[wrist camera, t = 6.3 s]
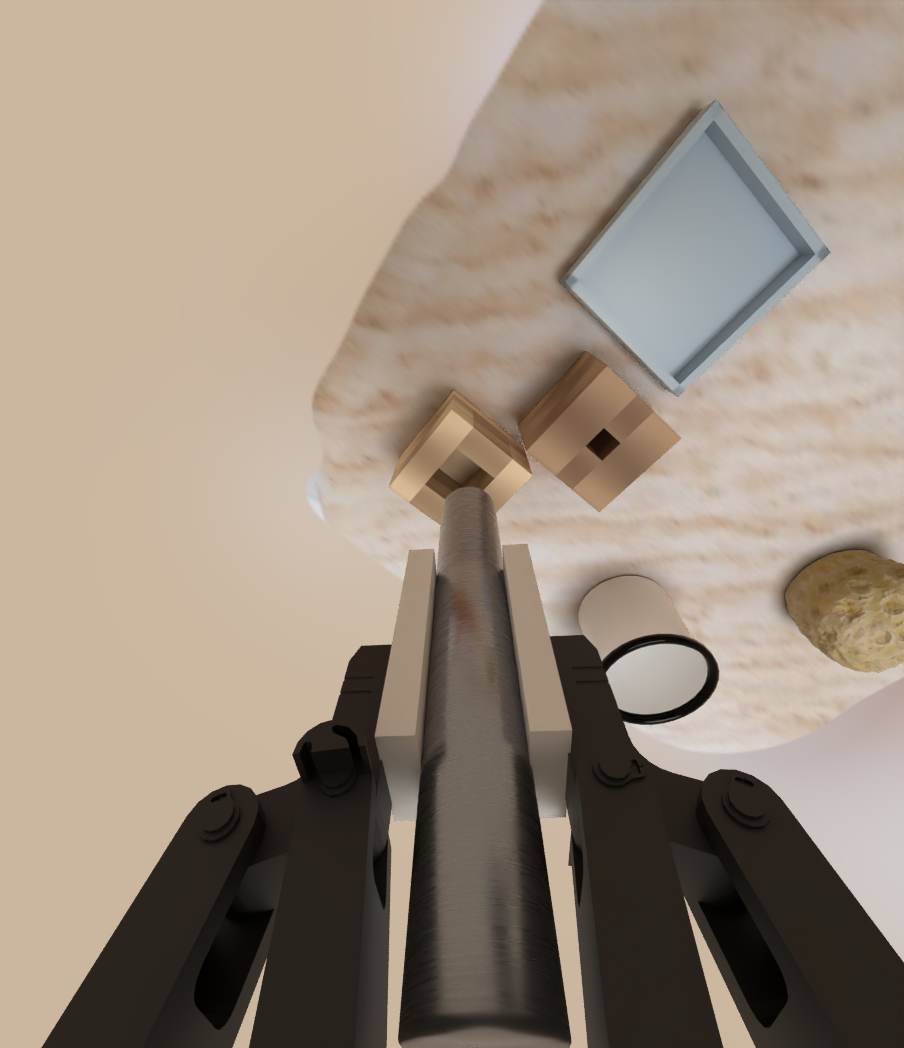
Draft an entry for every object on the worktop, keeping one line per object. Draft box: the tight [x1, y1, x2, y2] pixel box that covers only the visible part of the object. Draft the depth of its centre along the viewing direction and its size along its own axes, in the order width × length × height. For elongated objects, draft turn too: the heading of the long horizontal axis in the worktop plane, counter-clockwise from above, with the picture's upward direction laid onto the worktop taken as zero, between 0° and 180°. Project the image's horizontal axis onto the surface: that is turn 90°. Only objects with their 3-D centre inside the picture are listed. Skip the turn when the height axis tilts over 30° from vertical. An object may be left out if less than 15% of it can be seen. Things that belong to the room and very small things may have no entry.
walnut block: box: [518, 351, 681, 512], centre depth 33 cm, size 7×7×6 cm
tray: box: [559, 100, 830, 397], centre depth 29 cm, size 11×11×2 cm
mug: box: [578, 576, 719, 725], centre depth 40 cm, size 12×10×9 cm
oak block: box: [388, 389, 532, 525], centre depth 34 cm, size 7×7×6 cm
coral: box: [785, 550, 904, 673], centre depth 39 cm, size 9×9×8 cm
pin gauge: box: [398, 487, 571, 1048], centre depth 13 cm, size 2×2×15 cm
